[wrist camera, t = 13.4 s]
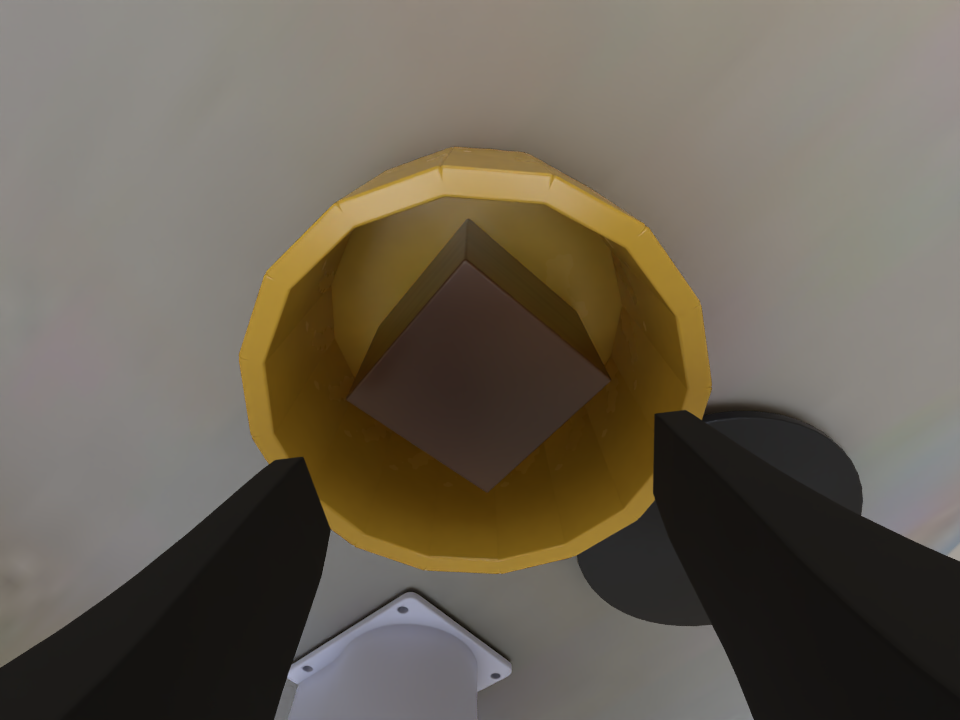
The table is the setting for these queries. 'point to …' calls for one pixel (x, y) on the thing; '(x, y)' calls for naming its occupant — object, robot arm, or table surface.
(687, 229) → the table surface
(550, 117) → the table surface
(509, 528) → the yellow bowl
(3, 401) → the table surface
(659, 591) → the lid
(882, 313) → the table surface
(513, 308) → the block
